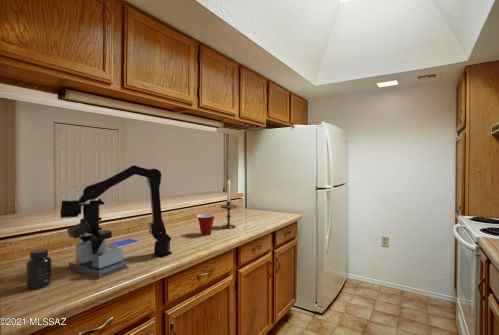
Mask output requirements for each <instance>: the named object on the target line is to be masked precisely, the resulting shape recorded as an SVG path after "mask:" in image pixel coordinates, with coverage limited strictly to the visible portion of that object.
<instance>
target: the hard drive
mask: <svg viewBox="0 0 499 335" xmlns="http://www.w3.org/2000/svg"><path fill="white" fill-rule="evenodd" d="M135 243H136V244H139V240H137V239H134V238H127V239H124V240H123V239H122V240H119V241H115V242H110V243H108V244H107V243H106V246H107V245H108V246H107V247H110V246H111V247H110V248H113V247H114V248H116V247H117V248H120V247H121V248H124V247H127V246H131V244H132V245H135Z"/></svg>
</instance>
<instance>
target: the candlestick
mask: <svg viewBox="0 0 499 335" xmlns="http://www.w3.org/2000/svg"><path fill="white" fill-rule="evenodd" d="M227 178H228V180H227V184H226V187H227V188H226V189H227V192H226V193H227V197H226V198H227V200H226V204H222V205H220V207H219V208H221V209H226V210H227V215H226V218H227V219H226V221H227V222H226V224H223V225H221V228H222V229H225V230H232V229H235V228H236V225H235V224H231V223H230V221H231V219H230V218H231V215H230V214H231V213H230V210H232V209H236V208H238V205H236V204H231V181H230V175H228V176H227Z"/></svg>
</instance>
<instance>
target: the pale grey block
mask: <svg viewBox="0 0 499 335" xmlns="http://www.w3.org/2000/svg"><path fill="white" fill-rule="evenodd" d="M106 250H107V239H104V241H103V242H102V244H101V246H100V248H99V250H98V252H97V253H99V252H103V251H106ZM92 254H93V252H92V243H91V242H90V241H86V242H79V243H75V261H76V262H79V263H85V262H88V261H91V260H92Z"/></svg>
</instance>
